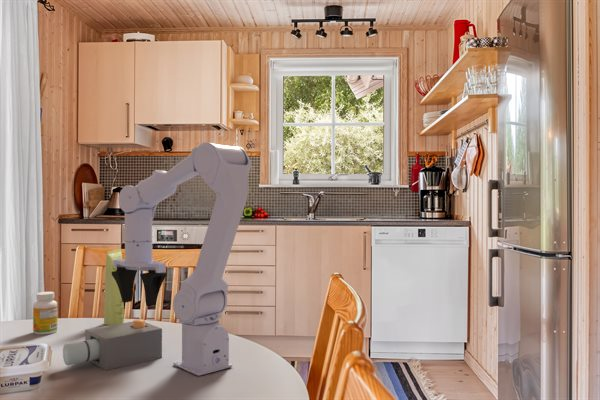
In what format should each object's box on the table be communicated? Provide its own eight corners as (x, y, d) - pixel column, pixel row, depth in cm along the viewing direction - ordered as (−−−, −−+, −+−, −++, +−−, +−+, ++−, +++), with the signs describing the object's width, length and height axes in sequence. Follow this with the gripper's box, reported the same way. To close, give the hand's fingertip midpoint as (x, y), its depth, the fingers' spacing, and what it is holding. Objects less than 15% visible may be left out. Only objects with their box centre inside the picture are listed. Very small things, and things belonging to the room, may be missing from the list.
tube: (126, 324, 137) (126, 250, 137) (106, 327, 134) (106, 251, 134) (121, 320, 142) (121, 248, 141) (101, 322, 139) (101, 249, 139)
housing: (139, 347, 116) (139, 320, 116) (161, 357, 109) (161, 328, 109) (85, 358, 108) (85, 329, 108) (105, 370, 101) (105, 339, 101)
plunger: (141, 333, 112) (141, 318, 112) (147, 335, 111) (147, 320, 111) (131, 335, 111) (131, 320, 111) (136, 337, 109) (136, 322, 109)
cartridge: (126, 349, 111) (126, 330, 111) (135, 354, 108) (135, 334, 108) (62, 362, 102) (62, 342, 102) (70, 367, 99) (70, 346, 99)
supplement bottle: (33, 330, 130) (33, 291, 130) (57, 328, 133) (57, 290, 133) (32, 336, 125) (32, 295, 125) (57, 333, 128) (57, 293, 128)
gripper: (176, 241, 113) (176, 303, 113) (131, 238, 121) (131, 297, 121) (150, 243, 107) (151, 309, 107) (105, 241, 115) (105, 302, 115)
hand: (139, 303), depth 114 cm, fingers open, 7 cm apart
